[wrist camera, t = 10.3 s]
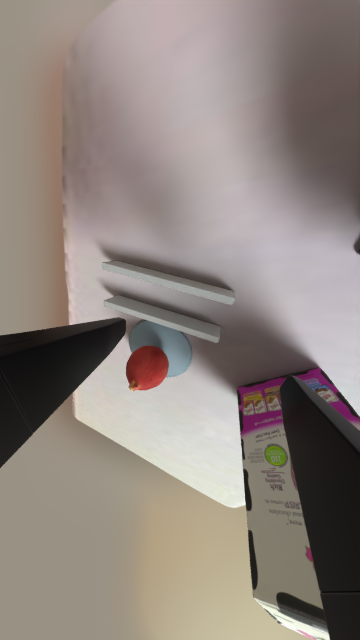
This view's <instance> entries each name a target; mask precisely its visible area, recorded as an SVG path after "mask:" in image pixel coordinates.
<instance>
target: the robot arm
mask: <svg viewBox="0 0 360 640" xmlns="http://www.w3.org/2000/svg"><path fill="white" fill-rule="evenodd" d="M359 254H360V250H359ZM125 332H126V320H125V319H122V318H112V319H106V320H99V321H93V322H87V323H80V324H74V325H68V326H62V327H56V328H49V329H46V330H45V329H42V330H36V331H30V332H23V333H16V334H9V335H0V468H1V467H2V466H3V465H4V464H5V462H7V461H8V459H9V458H10V457H11V456H12V455H13V454H14V453H15V452H16V451H17V450H18V449H19V448H20V447H21V446H22V445H23V444H24V443H25V442H26V441H27V440H28V439H29V437H31V436H32V434H33V433H34V432H35V431H36V430H37V429H38V428H39V427H40V426H41V425H42V424H43V423H44V422H45V421H46V420H47V419H48V418H49V417H50V415H52V414H53V412H54V411H55V410H56V409H57V408H58V407H59V406H60V405H61V404H62V403H63V402H64V401H65V400H66V399H67V398H68V397H69V396H70V395H71V394H72V393H73V392H74V391H75V390H76V389H77V388H78V386H79V385H80V384H81V383H82V382H83V381H84V380H85V379H86V378H87V377H88V376H89V375H90V374H91V373H92V372H93V371H94V370H95V369H96V368H97V367H98V366H99V365H100V364H101V363H102V362H103V360H104V359H105V358H106V357H107V356H108V355H109V354H110V353H111V352H112V350H113V349H114V348H115V347H116V345H117V344H118V343H119V341H120V340H121V339H122V338H123V336H124V335H125ZM279 392H280V401H281V410H282V419H283V425H284V430H285V435H286V439H287V444H288V448H289V453H290V458H291V462H292V467H293V472H294V476H295V481H296V485H297V490H298V495H299V499H300V504H301V508H302V513H303V518H304V522H305V527H306V531H307V536H308V541H309V545H310V550H311V554H312V559H313V564H314V568H315V573H316V577H317V582H318V587H319V590H320V597H321V601H322V606H323V610H324V615H325V620H326V624H327V629H328V633H329V638H330V640H360V430H358V429H357V428H356V427H355V426H354V425H353V424H352V423H350V422H349V421H348V420H347V419H346V418H345V417H344V416H342V415H341V414H340V413H339V412H338V411H337V410H336V409H334V408H333V407H332V406H331V405H330V404H329V403H328V402H326V401H325V400H324V399H323V398H322V397H321V396H319V395H318V394H317V393H316V392H315V391H314V390H313V389H311V388H310V387H309V386H308V385H307V384H306V383H305V382H303V381H302V380H301V379H300V378H297V377H294V376H288V377H287V378H286V380H285V381H284V382H283V383H282V385H281V386H280V390H279Z"/></svg>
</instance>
